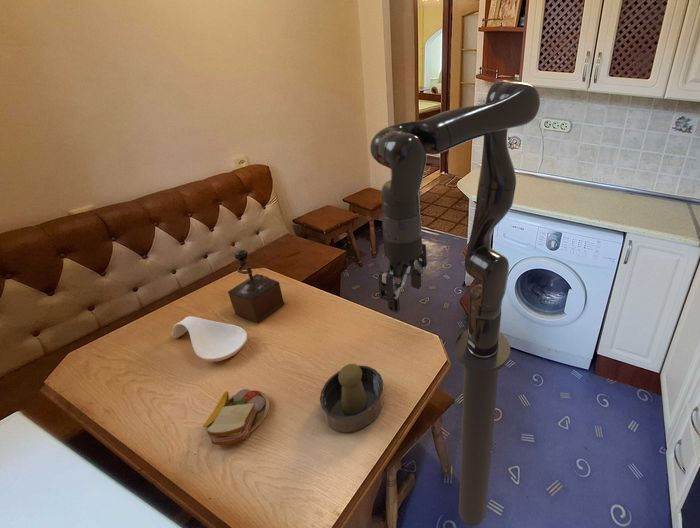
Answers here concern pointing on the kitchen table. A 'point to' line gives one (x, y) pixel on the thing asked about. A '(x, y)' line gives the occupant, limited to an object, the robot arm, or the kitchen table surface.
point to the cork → (352, 389)
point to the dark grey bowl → (357, 421)
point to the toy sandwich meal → (236, 416)
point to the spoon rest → (211, 337)
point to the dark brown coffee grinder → (255, 294)
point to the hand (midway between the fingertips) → (405, 298)
